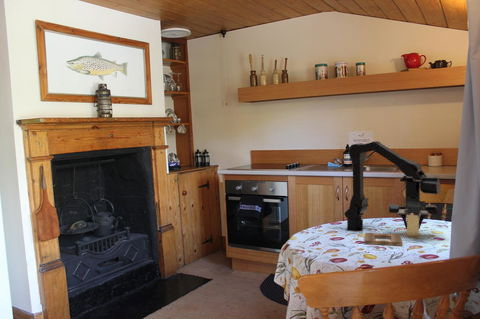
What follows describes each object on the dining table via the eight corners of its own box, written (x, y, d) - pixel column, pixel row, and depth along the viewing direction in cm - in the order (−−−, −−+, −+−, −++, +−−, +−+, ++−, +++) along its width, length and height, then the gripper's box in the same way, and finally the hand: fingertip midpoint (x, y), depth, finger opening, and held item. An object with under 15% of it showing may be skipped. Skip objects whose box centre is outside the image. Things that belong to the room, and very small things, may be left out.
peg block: (407, 236, 170) (407, 217, 170) (406, 233, 175) (406, 214, 174) (418, 236, 169) (418, 217, 168) (417, 233, 173) (417, 215, 172)
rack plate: (364, 246, 162) (364, 240, 161) (365, 238, 173) (365, 232, 173) (402, 248, 157) (402, 242, 157) (400, 240, 169) (400, 234, 168)
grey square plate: (404, 239, 169) (404, 237, 169) (402, 234, 177) (402, 232, 177) (422, 240, 167) (422, 238, 167) (420, 235, 175) (420, 233, 174)
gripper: (389, 195, 166) (389, 232, 167) (440, 196, 160) (439, 235, 161) (388, 190, 176) (388, 226, 177) (436, 191, 170) (435, 228, 172)
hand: (412, 229), depth 172 cm, fingers closed on peg block, 4 cm apart
